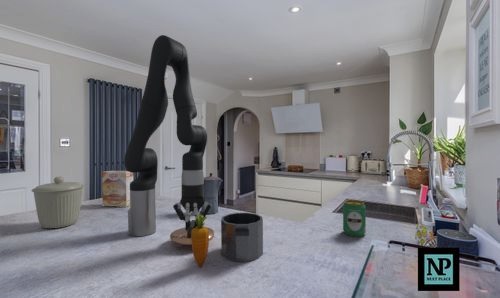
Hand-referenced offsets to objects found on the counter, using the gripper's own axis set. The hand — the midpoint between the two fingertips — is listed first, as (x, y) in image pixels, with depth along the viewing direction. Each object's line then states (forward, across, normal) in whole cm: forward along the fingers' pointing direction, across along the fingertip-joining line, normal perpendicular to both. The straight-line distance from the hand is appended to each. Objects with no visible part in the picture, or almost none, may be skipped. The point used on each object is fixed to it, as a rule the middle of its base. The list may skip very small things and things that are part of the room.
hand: (192, 231), depth 89 cm
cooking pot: (+4, +17, -8) cm, 20 cm away
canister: (+5, -62, +23) cm, 66 cm away
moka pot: (+5, 0, +40) cm, 40 cm away
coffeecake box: (+6, -53, +56) cm, 78 cm away
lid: (+2, 0, 0) cm, 2 cm away
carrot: (+4, +6, -17) cm, 19 cm away
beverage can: (+4, +60, +7) cm, 61 cm away
